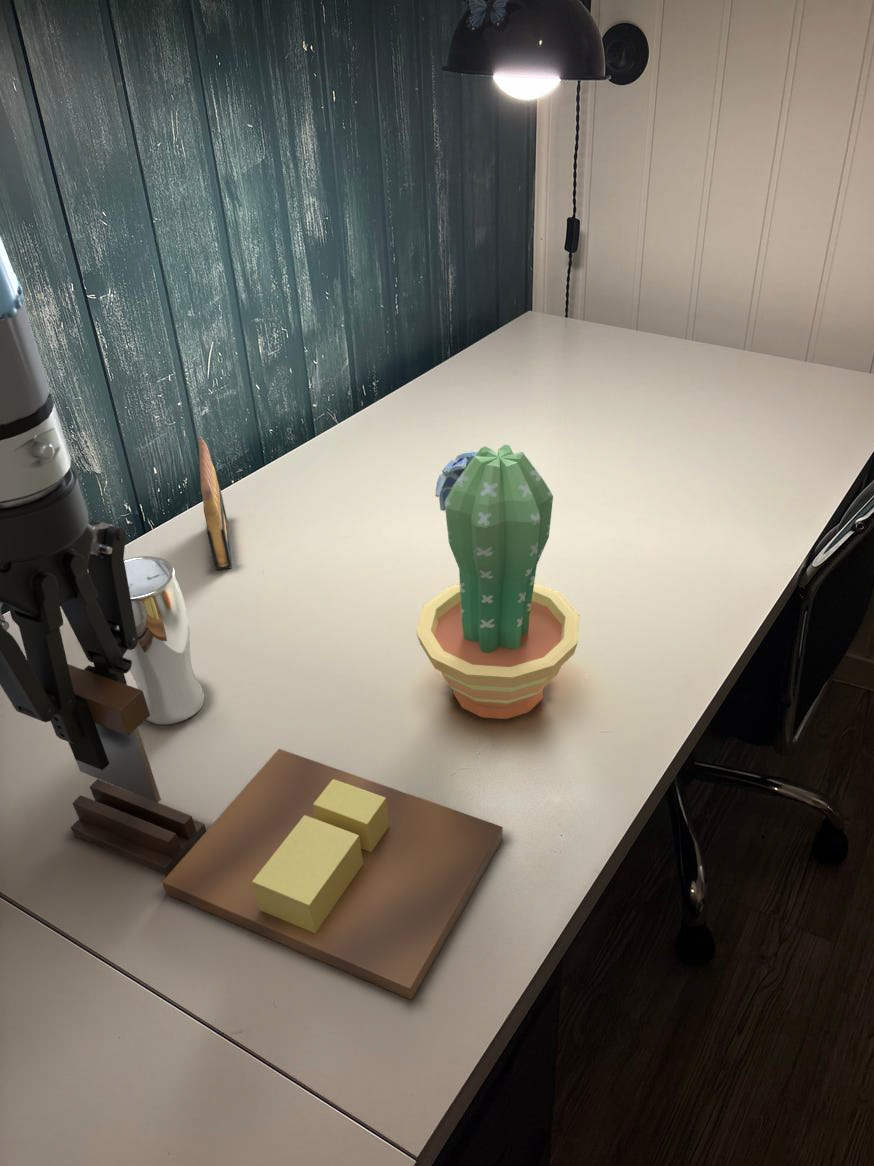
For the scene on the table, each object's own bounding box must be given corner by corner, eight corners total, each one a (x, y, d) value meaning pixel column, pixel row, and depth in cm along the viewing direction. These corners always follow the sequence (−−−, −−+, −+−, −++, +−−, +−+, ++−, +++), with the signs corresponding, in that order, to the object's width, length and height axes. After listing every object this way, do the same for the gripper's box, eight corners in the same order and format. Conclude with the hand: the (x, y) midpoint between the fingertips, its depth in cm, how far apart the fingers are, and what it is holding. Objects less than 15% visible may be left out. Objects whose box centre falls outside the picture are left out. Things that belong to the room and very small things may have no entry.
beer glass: (121, 720, 90) (77, 592, 81) (161, 674, 96) (123, 549, 86) (185, 734, 89) (148, 606, 79) (222, 687, 94) (191, 561, 84)
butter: (259, 910, 72) (251, 881, 69) (310, 843, 77) (304, 814, 74) (315, 934, 70) (309, 905, 68) (363, 864, 75) (359, 835, 73)
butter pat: (318, 832, 77) (312, 804, 75) (337, 807, 79) (332, 778, 77) (371, 852, 76) (367, 824, 73) (389, 826, 78) (386, 797, 76)
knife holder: (73, 835, 80) (62, 811, 78) (114, 794, 83) (105, 770, 81) (168, 875, 76) (159, 851, 74) (206, 831, 80) (199, 807, 78)
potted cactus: (559, 632, 100) (569, 411, 84) (594, 733, 88) (613, 497, 72) (413, 646, 98) (396, 424, 83) (428, 752, 86) (412, 515, 71)
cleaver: (66, 778, 77) (24, 675, 70) (87, 758, 78) (48, 656, 72) (154, 814, 74) (120, 710, 67) (174, 792, 75) (142, 690, 69)
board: (165, 893, 75) (161, 882, 74) (281, 759, 86) (278, 748, 85) (411, 1000, 67) (410, 988, 66) (503, 838, 79) (503, 826, 78)
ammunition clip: (232, 568, 110) (212, 476, 103) (215, 570, 110) (194, 479, 102) (227, 521, 118) (208, 433, 111) (212, 523, 118) (192, 435, 110)
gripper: (-48, 558, 52) (71, 836, 67) (142, 439, 63) (208, 700, 78) (-142, 527, 54) (-8, 801, 69) (56, 418, 65) (136, 675, 80)
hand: (106, 747), depth 73 cm, fingers closed on cleaver, 2 cm apart
